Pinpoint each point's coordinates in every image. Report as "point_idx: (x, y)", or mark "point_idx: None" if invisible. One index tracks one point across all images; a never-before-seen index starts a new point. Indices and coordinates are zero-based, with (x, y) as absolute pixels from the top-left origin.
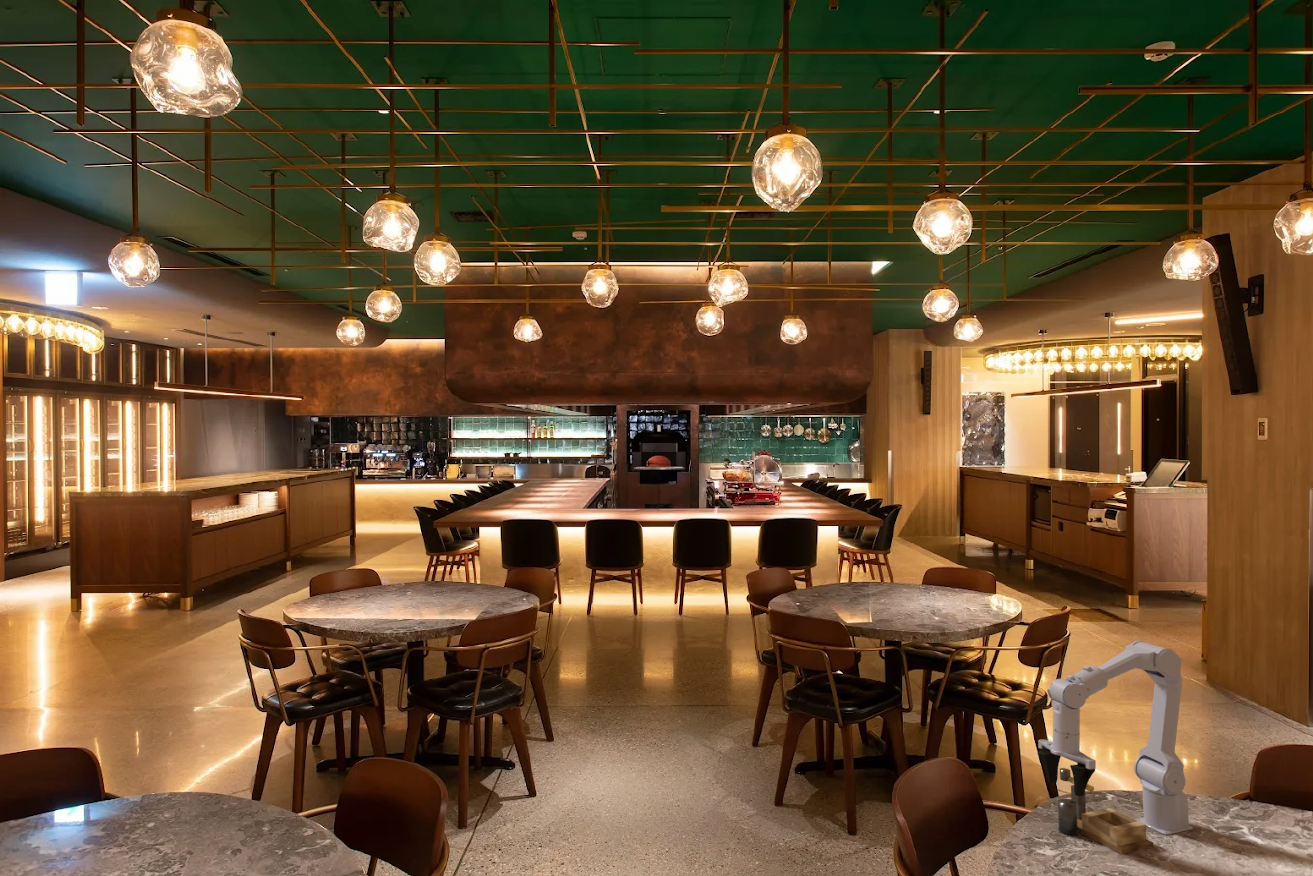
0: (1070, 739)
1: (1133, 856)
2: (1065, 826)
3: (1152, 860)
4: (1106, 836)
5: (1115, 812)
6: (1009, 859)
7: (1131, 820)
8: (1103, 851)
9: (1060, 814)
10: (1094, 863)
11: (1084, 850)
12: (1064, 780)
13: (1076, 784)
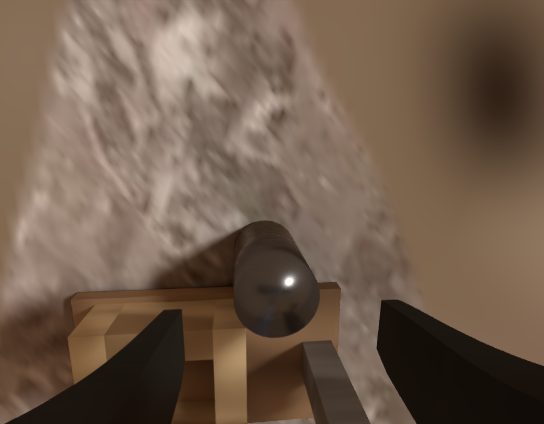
0: None
1: (64, 320)
2: (251, 232)
3: (25, 354)
4: (135, 311)
5: None
6: None
7: None
8: (120, 255)
9: (276, 240)
10: (51, 150)
11: (144, 198)
12: None
13: (129, 351)
